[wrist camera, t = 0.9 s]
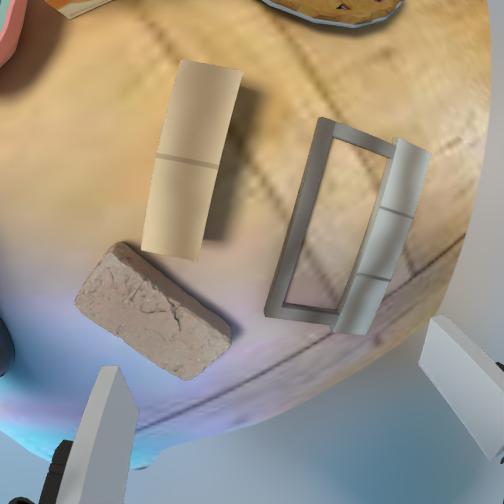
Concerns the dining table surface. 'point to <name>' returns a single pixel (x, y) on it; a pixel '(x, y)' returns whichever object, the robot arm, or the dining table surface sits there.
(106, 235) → the dining table surface
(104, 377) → the robot arm
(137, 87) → the dining table surface
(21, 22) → the cell model
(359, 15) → the pie
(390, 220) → the floor panel
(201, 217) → the plank
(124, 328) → the brick
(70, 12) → the coffeecake box
